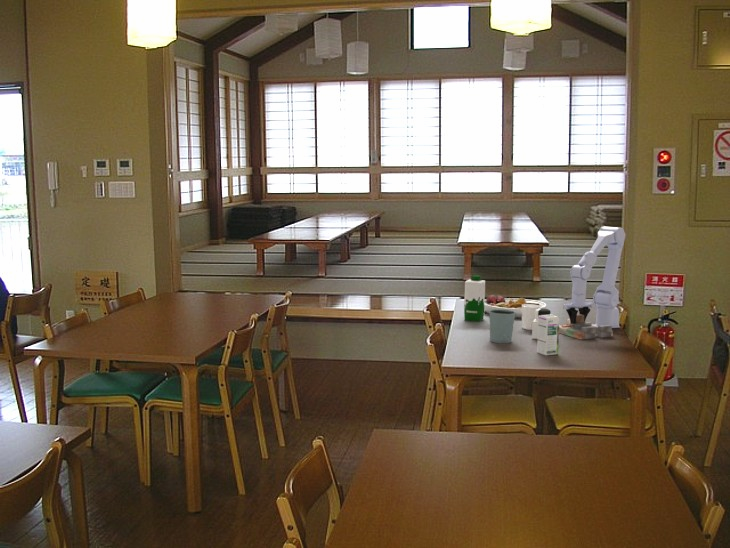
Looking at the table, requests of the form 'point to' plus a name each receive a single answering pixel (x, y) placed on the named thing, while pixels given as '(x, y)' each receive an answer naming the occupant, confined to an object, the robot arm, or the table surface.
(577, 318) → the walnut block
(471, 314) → the milk carton
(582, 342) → the table surface
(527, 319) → the white cup
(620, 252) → the robot arm
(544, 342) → the syrup box
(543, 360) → the table surface
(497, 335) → the drinking glass
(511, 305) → the bowl
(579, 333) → the gauge bed
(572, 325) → the gauge plate
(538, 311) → the medicine bottle
